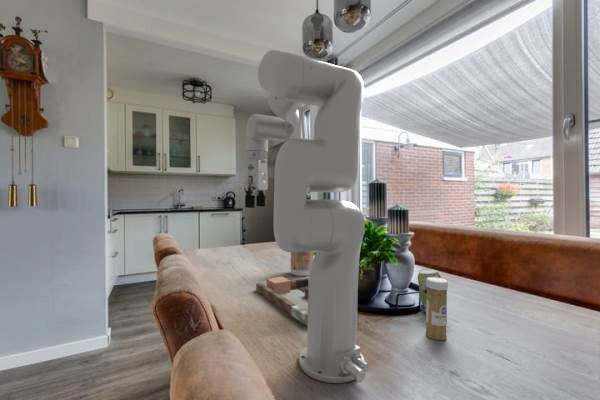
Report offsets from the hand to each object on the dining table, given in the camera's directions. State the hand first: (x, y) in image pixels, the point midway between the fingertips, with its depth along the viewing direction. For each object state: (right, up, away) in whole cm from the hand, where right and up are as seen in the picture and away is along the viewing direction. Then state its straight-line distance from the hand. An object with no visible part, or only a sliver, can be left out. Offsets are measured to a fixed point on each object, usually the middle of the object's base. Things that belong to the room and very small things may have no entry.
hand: (255, 206), depth 97 cm
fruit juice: (+16, -29, +22) cm, 40 cm away
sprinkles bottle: (+47, -30, -31) cm, 64 cm away
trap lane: (+18, -29, -8) cm, 35 cm away
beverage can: (+53, -30, -17) cm, 63 cm away
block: (+8, -29, -1) cm, 30 cm away
